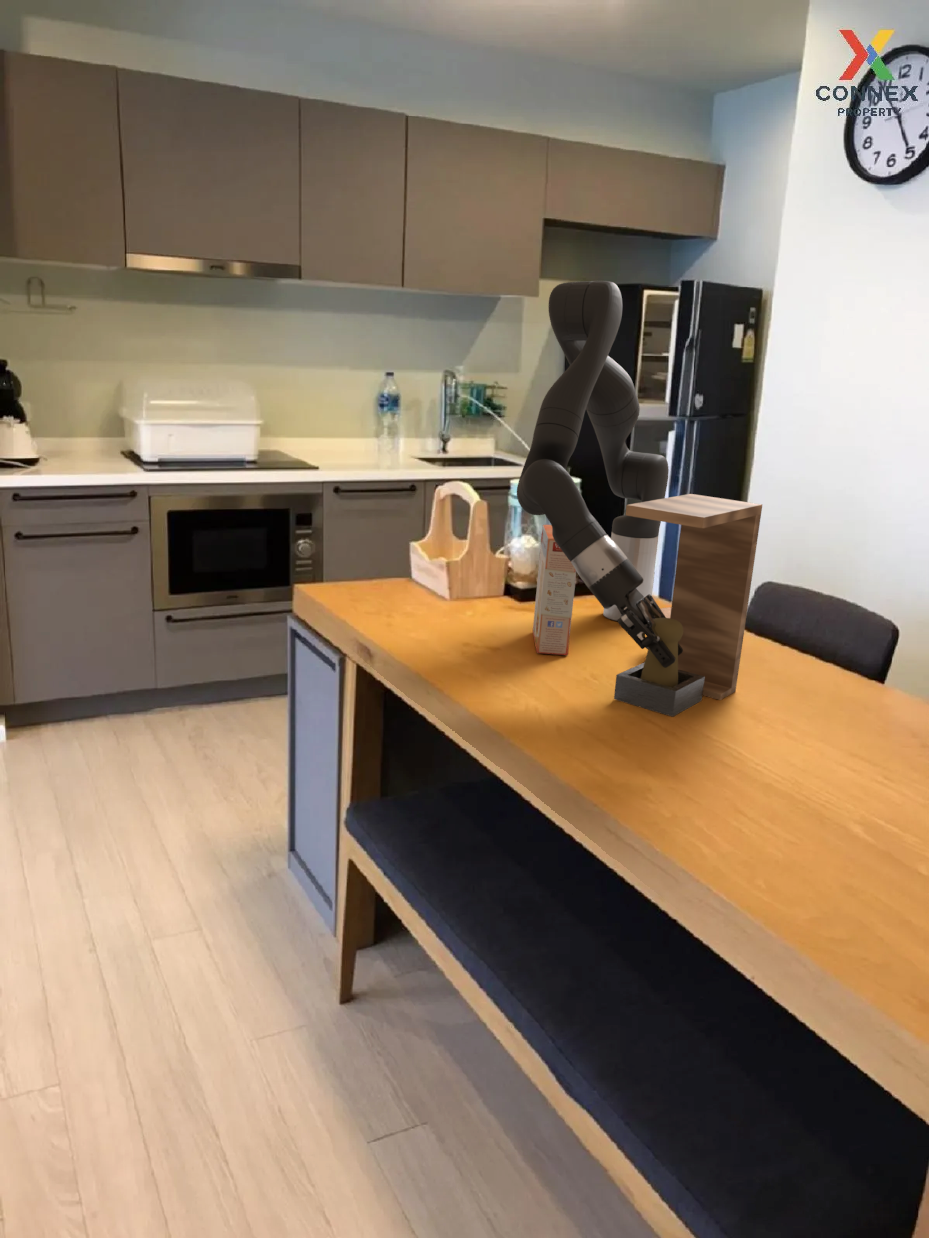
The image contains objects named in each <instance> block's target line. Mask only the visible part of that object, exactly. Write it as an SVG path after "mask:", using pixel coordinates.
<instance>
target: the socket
mask: <svg viewBox="0 0 929 1238" xmlns="http://www.w3.org/2000/svg"><path fill="white" fill-rule="evenodd" d="M644 663H645V661H644V662H643V663H640V664H638V665H636V666H634V667H631V668H629V669H627V670H624V671H622V672H619V673H617V674H616V676H615V687H614V696H613V699H614V700H615V701H619V702H623V703H625V704H629V705H632V706H636V707H639V708H642V709H645V710H649V711H652V712H656V713H659V714H662V715H666V716H669V717H675V716H676V715H678V714H680V713H682V712H684V711H685V710H687V709H689V708H692V707H693V706H695V705H696V704H698V703H699V702H702V701H703V700H702V699H703V695H702V694H703V686H704V679H705V676H701V675H697V674H694V673H690V672H686V671H682V670H679V669H678V685H676V686H674V687H669V686H665V685H661V684H658V683H654V682H651V681H647V680H644V679H640V678H641V674H642V671H643V667H644Z"/></svg>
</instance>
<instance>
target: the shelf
mask: <svg viewBox="0 0 929 1238" xmlns="http://www.w3.org/2000/svg"><path fill="white" fill-rule="evenodd" d="M625 509H626V510H625V515H627V516H633V517H639V518H645V519H651V520H657V521H661V523H662V522H665V523H669V524H675V525H680V532H679V533H680V535H679V543H678V551H677V558H676V559H677V560H676V567H675V576H674V585H673V593H672V600H671V615H670V618H671V619H674V620H677V621H679V622H680V623H681V624H682V627H683V635H682V637H681V639H680V640H679V641H678V644H679V645H680V646H681V647H682V649H683V652H682V653H681V654H680V655H678V669H679V670H682V671H686V672H690V673H694V674H697V675H701V676H705V679H704V686H703V694H702V696H705V697H708V698H712V699H715V700H719V701H721V700H723V699H725V698H727V697H728V696H730V695H732V694H733V693H735V692H736V691H737V683H738V677H739V670H740V664H741V663H740V662H741V658H742V657H741V656H742V650H743V642H744V635H745V629H746V621H747V615H748V608H749V601H750V593H751V588H752V586H751V585H752V580H753V575H754V574H753V573H754V572H753V571H754V565H755V559H756V553H757V544H758V537H759V532H760V524H761V518H762V510H763V504H760V503H753V502H748V501H741V500H734V499H729V498H723V497H721V498H720V497H715V496H714V497H713V496H707V495H701V494H695V493H694V494H693V493H686V494H682V495H677V496H670V497H665V498H664V499H658V500H652V501H646V502H642V501H641V502H635V503H630V504H626V508H625Z"/></svg>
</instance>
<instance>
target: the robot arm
mask: <svg viewBox="0 0 929 1238" xmlns="http://www.w3.org/2000/svg"><path fill="white" fill-rule="evenodd" d="M622 316H623V298H622V292H621V290H620V288H619V287H618V285H617V284H616V283H615V282H613V281H609V280H591V281H590V280H588V281H587V280H584V281H583V280H581V281H568V282H563V283H560V284H557V285H556V286H555V287H554V288H553V289H552V290H551V292H550V294H549V298H548V317H549V321H550V325H551V328H552V331H553V334H554V336H555V338H556V340H557V342H558V344H559V346H560V349H561V350H562V353H563V354H564V356H565V358H566V359H567V362H568V364H569V366H568V367H567V368H566V370H565V371H564V372H563V373H562V374H561V375H560V376H559V377H558V379H556V381H554V383H553V384H552V385H551V387H550V388H549V389H548V391H547V392H546V394H545V396H544V398H543V399H542V402H541V405H540V408H539V412H538V416H537V420H536V423H535V427H534V431H533V435H532V441H531V445H530V448H529V451H528V454H527V457H526V459H525V461H524V465H523V468H522V471H521V473H520V476H519V480H518V482H517V483H518V484H517V487H516V498H517V501H518V504H519V505H520V507H521V508H522V510H524V512H526V513H528V514H530V515H533V516H543V515H545V517H546V519H547V520H548V522H549V523H550V525H552V535H553V538H554V540H555V542H556V543H557V545H558V546H559V547H560V548H561V550H562V551H563V553H564V554H565V555H566V556H567V558H568V559H569V560H570V561H571V563H572V565H573V566H574V568H575V570H576V574H578V576H579V578H580V579H581V580H582V581H583V583H584V584H585V586H586V587H587V589H589V591H590V592H591V593H592V595H594V597H595V599H596V600H597V602H599V604H600V605H601V606H602V608H603V613H602V614H603V617H605V618H606V619H609V620H612V621H616V622H618V623H617V624H619V626H620V627H621V628H622V629H623V630H624V631H625V632H626V633H627V634H628V635H629V637H630V638H631V639H632V640H633V641H634V642H635V643H636V644H637V646H638V647H639V648H640V649H642V650H644V649H646V650H648V649H650V650H651V652H652V653H653V654H654V656H655V657H656V658H657V660H658V661H659V662H660V663H661V665H662V666H663V667H664V668H667V667H668V666H670V665H671V664H673V663H674V662H675V661H676V658H675V656H674V655H673V654H672V652H671V651H670V650H669V649H668V647H667V646H666V645H665V643H664V642H663V641H661V638H660V636H659V635H658V634H657V632H656V630H655V626H656V624H655V622H654V620H653V619H656V618H666V617H665V615H664V614H663V612H662V611H661V608H660V607H659V605H658V603H657V602H656V600H655V599H654V597H653V589H654V582H655V572H656V571H655V568H656V559H657V553H658V552H657V550H658V549H657V548H658V542H659V532H660V527H661V523H662V521H657V520H651V519H645V518H639V517H633V516H627V515H626V514H625V515H620V516H617V517H615V518H614V519H613V521H612V524H611V527H612V528H611V536H609V534H607V533H606V531H605V530H604V528H603V527H602V525H600V523H599V522H598V520H597V519H596V518H595V517H594V516H593V515H592V513H591V512H590V510H589V508H588V506H587V504H586V502H585V500H584V498H583V496H582V494H581V493H580V490H579V488H578V486H577V484H576V483H575V481H574V479H573V478H572V476H571V475H570V473H569V471H568V470H567V467H568V463H569V461H570V459H571V456H572V455H573V453H574V452H575V449H576V447H577V444H578V440H579V437H580V433H581V430H582V425H583V421H584V418H585V413H586V412H587V415H588V417H589V420H590V422H591V425H592V427H593V431H594V433H595V435H596V438H597V441H598V445H599V448H600V451H601V456H602V459H603V464H604V470H605V474H606V478H607V481H608V485H609V487H610V489H611V491H612V493H613V495H615V496H617V497H620V498H622V499H629V500H633V501H641V502H646V501H652V500H658V499H664V498H666V492H667V487H668V483H669V471H670V470H669V463H668V460H667V458H666V457H665V456H663V455H661V454H656V453H648V452H638V451H632V450H630V449H629V448H628V446H627V444H626V440H627V439H628V437H629V435H630V434H631V433H632V431H633V429H634V427H635V425H636V424H637V422H638V419H639V415H640V410H641V408H640V403H639V399H638V395H637V392H636V388H635V385H634V383H633V380H632V378H631V376H630V375H629V374H628V371H626V370H625V369H624V368H623V367H622V366H621V365H620V364H619V363H617V362H616V361H615V360H614V359H613V358H612V357H610V356H609V353H610V352H611V349H612V346H613V344H614V342H615V340H616V337H617V335H618V331H619V329H620V325H621V322H622ZM682 652H683V649H682V647H681V646H680V645H679V644H678V655H680V654H681V653H682Z"/></svg>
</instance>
